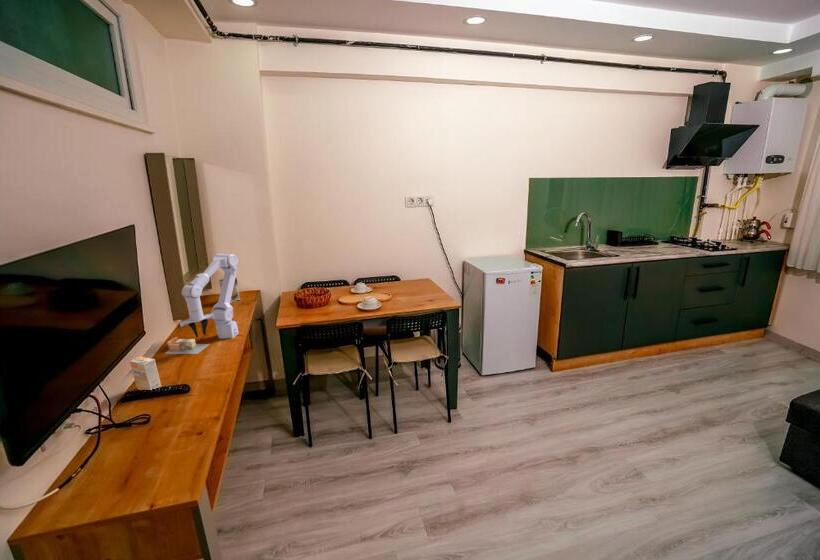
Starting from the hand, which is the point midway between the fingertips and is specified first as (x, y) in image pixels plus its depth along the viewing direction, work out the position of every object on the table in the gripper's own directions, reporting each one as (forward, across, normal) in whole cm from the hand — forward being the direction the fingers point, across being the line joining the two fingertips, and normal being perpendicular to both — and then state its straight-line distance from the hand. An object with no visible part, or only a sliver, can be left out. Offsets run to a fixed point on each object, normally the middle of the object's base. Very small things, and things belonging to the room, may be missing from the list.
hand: (200, 335), depth 181 cm
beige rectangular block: (+7, +6, -6) cm, 11 cm away
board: (+7, +6, -5) cm, 11 cm away
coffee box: (+8, -32, -63) cm, 72 cm away
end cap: (+7, +9, -9) cm, 15 cm away
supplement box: (+8, +26, +23) cm, 35 cm away
